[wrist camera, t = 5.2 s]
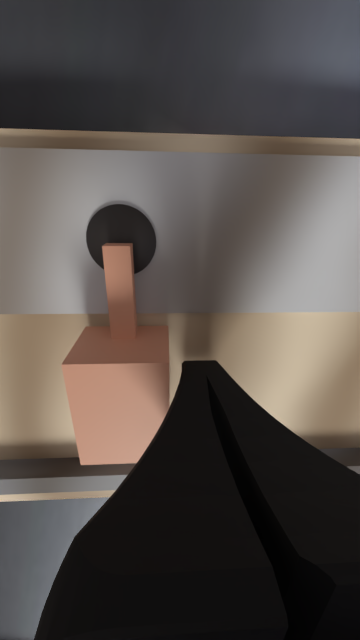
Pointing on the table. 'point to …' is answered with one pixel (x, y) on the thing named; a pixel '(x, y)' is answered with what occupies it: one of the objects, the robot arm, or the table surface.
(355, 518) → the robot arm
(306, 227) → the plate
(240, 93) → the table surface
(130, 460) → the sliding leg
